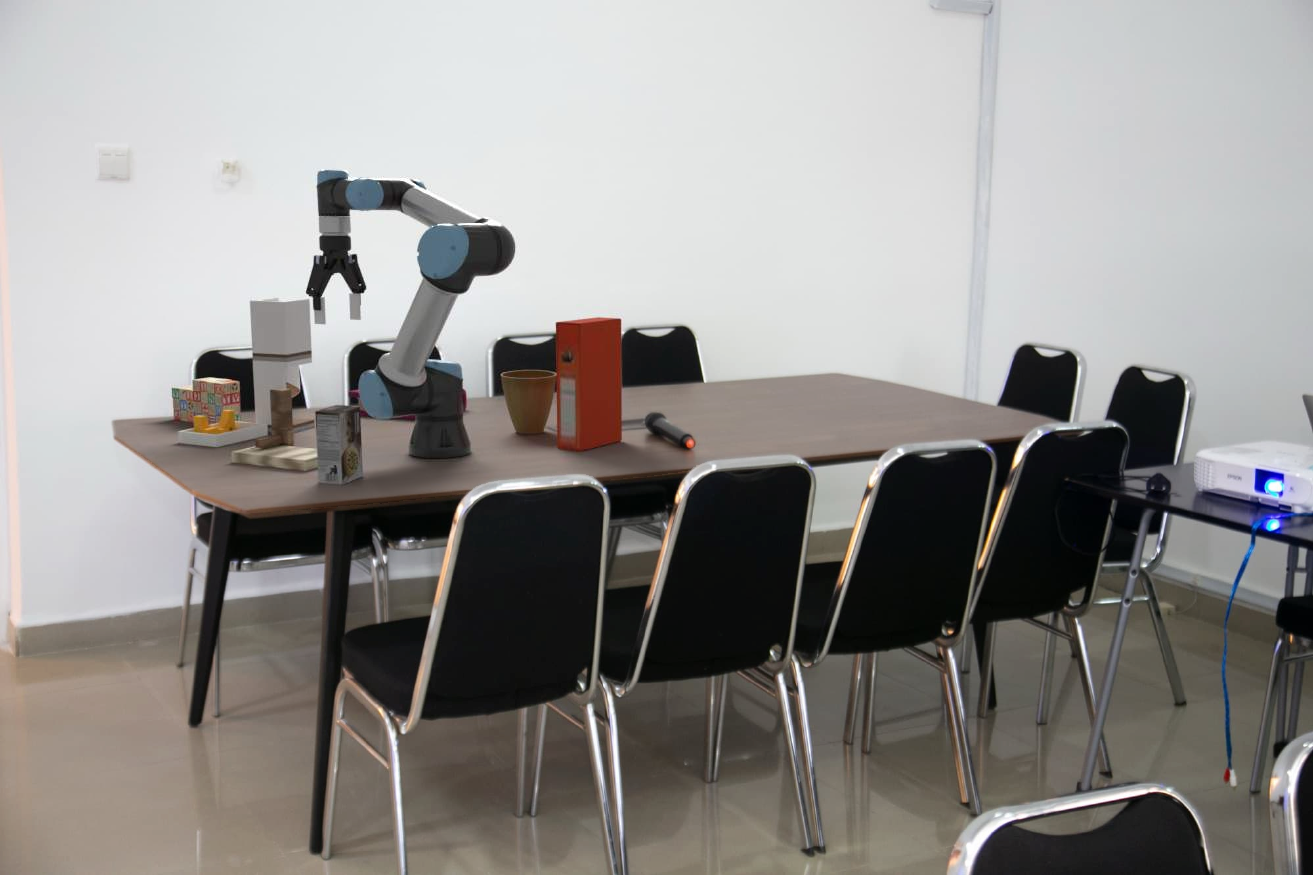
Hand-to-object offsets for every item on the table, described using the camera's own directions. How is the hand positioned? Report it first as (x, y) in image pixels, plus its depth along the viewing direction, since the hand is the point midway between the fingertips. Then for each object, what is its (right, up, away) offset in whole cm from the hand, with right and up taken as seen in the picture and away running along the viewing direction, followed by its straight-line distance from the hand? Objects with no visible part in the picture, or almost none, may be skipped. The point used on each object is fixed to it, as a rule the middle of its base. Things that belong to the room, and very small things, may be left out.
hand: (338, 321), depth 315 cm
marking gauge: (-14, -33, -6) cm, 36 cm away
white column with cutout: (-22, -26, +32) cm, 47 cm away
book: (+5, -22, +62) cm, 66 cm away
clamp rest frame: (-34, -29, +17) cm, 47 cm away
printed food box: (+8, -38, -30) cm, 49 cm away
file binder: (+61, -31, +13) cm, 70 cm away
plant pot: (+44, -27, +30) cm, 60 cm away
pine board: (-9, -34, -12) cm, 37 cm away
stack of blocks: (-47, -24, +42) cm, 68 cm away
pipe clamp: (-36, -29, +19) cm, 50 cm away
